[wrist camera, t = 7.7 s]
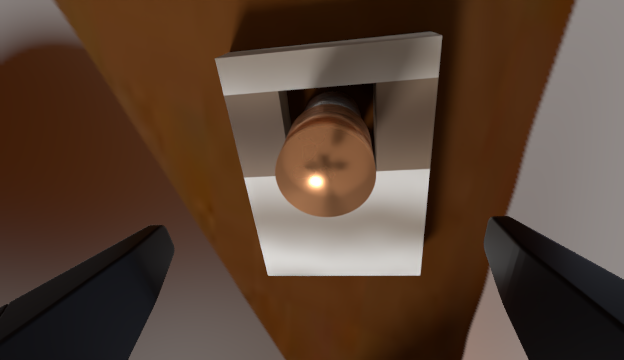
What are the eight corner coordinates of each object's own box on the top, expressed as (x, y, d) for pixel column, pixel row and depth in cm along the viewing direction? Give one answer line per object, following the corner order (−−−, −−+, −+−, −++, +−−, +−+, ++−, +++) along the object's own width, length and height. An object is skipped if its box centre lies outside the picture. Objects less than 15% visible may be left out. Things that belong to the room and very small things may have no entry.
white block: (414, 253, 21) (420, 275, 20) (274, 254, 23) (268, 275, 21) (430, 31, 15) (442, 35, 13) (229, 52, 16) (214, 58, 14)
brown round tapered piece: (352, 158, 18) (355, 227, 13) (290, 139, 18) (266, 202, 13) (377, 97, 16) (392, 147, 11) (308, 75, 16) (288, 115, 11)
